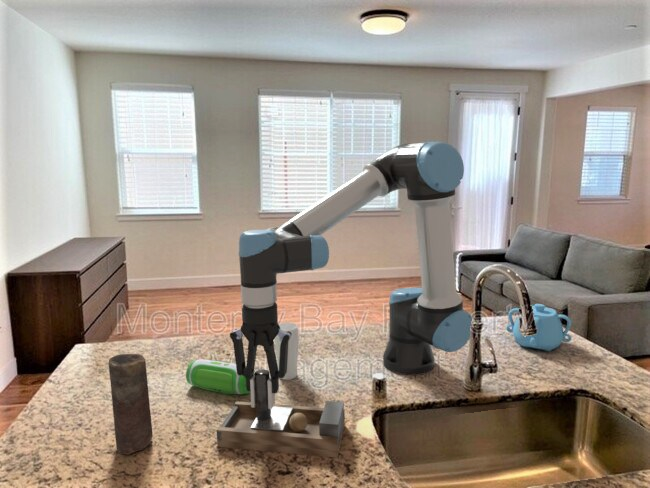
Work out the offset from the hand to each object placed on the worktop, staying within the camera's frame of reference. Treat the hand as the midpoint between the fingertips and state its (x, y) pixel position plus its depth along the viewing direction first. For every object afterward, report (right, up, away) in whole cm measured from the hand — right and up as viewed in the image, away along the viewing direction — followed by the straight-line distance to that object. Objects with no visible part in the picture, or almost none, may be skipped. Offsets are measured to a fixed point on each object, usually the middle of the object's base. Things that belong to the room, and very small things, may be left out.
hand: (263, 404), depth 101 cm
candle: (-27, -8, -2) cm, 29 cm away
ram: (+2, -5, +1) cm, 6 cm away
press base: (+4, -7, +1) cm, 8 cm away
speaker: (-14, -4, +22) cm, 27 cm away
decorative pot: (+84, +2, +49) cm, 97 cm away
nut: (+8, -4, -1) cm, 9 cm away
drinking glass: (+3, -2, +29) cm, 29 cm away
